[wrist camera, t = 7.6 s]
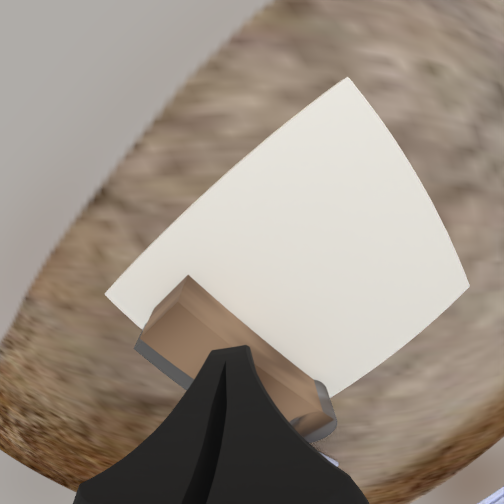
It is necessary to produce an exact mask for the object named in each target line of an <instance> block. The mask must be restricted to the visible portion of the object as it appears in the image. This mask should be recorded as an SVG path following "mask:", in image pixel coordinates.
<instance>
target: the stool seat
mask: <svg viewBox="0 0 504 504" xmlns="http://www.w3.org/2000/svg"><path fill="white" fill-rule="evenodd" d="M187 275H189V276H190V277H191V278H193V279H194V280H195V281H196V282H197V283H198V284H199V285H200V286H201V287H203V288H204V289H205V290H206V291H207V292H208V293H209V294H211V295H212V296H213V297H214V298H215V299H216V300H217V301H219V302H220V303H221V304H222V305H223V306H224V307H225V308H227V309H228V310H229V311H230V312H231V313H232V314H234V315H235V316H236V317H237V318H238V319H239V320H241V321H242V322H243V323H244V324H245V325H247V326H248V327H249V328H250V329H251V330H253V331H254V332H255V333H256V334H257V335H259V336H260V337H261V338H262V339H263V340H265V341H266V342H267V343H268V344H269V345H271V346H272V347H273V348H274V349H276V350H277V351H278V352H279V353H281V354H282V355H283V356H284V357H286V358H287V359H288V360H289V361H291V362H292V363H293V364H294V365H296V366H297V367H298V368H299V369H301V370H302V371H303V372H305V373H306V374H307V375H308V376H310V377H311V378H312V379H314V380H318V381H320V382H322V383H323V384H324V385H325V386H326V388H327V391H328V394H329V397H330V398H331V397H332V396H334V395H336V394H337V393H339V392H340V391H342V390H343V389H345V388H346V387H348V386H349V385H351V384H352V383H354V382H355V381H357V380H358V379H360V378H361V377H363V376H364V375H365V374H367V373H368V372H370V371H371V370H372V369H374V368H375V367H377V366H378V365H379V364H381V363H382V362H383V361H385V360H386V359H387V358H389V357H390V356H391V355H393V354H394V353H395V352H396V351H398V350H399V349H400V348H401V347H403V346H404V345H405V344H406V343H408V342H409V341H410V340H411V339H413V338H414V337H415V336H416V335H417V334H419V333H420V332H421V331H422V330H423V329H424V328H426V327H427V326H428V325H429V324H430V323H431V322H433V321H434V320H435V319H436V318H437V317H438V316H439V315H440V314H441V313H443V312H444V311H445V310H446V309H447V308H448V307H449V306H450V305H451V304H452V303H453V302H454V301H455V300H456V299H457V298H458V297H459V296H460V295H461V294H462V293H463V292H465V291H466V290H467V288H468V287H469V283H468V280H467V278H466V275H465V273H464V270H463V268H462V265H461V263H460V260H459V258H458V256H457V253H456V251H455V249H454V246H453V244H452V242H451V240H450V238H449V235H448V233H447V231H446V229H445V227H444V225H443V223H442V221H441V219H440V217H439V215H438V213H437V211H436V209H435V207H434V205H433V203H432V201H431V199H430V198H429V196H428V194H427V192H426V190H425V188H424V187H423V185H422V183H421V181H420V180H419V178H418V176H417V174H416V173H415V171H414V169H413V168H412V166H411V164H410V163H409V161H408V160H407V158H406V156H405V155H404V153H403V152H402V150H401V148H400V147H399V145H398V144H397V142H396V141H395V139H394V138H393V136H392V135H391V133H390V132H389V130H388V129H387V128H386V126H385V125H384V123H383V122H382V120H381V119H380V118H379V116H378V115H377V113H376V112H375V111H374V109H373V108H372V107H371V105H370V104H369V103H368V101H367V100H366V99H365V97H364V96H363V95H362V94H361V92H360V91H359V90H358V89H357V87H356V86H355V85H354V84H353V82H352V81H351V80H350V79H349V78H348V77H347V78H345V79H343V80H342V81H340V82H339V83H337V84H336V85H334V86H333V87H332V88H330V89H329V90H327V91H326V92H325V93H323V94H322V95H321V96H320V97H318V98H317V99H316V100H314V101H313V102H312V103H310V104H309V105H308V106H306V107H305V108H304V109H303V110H301V111H300V112H299V113H298V114H296V115H295V116H294V117H292V118H291V119H290V120H289V121H287V122H286V123H285V124H284V125H282V126H281V127H280V128H279V129H278V130H276V131H275V132H274V133H273V134H271V135H270V136H269V137H268V138H267V139H265V140H264V141H263V142H262V143H261V144H259V145H258V146H257V147H256V148H255V149H254V150H252V151H251V152H250V153H249V154H248V155H247V156H245V157H244V158H243V159H242V160H241V161H240V162H238V163H237V164H236V165H235V166H234V167H233V168H232V169H230V170H229V171H228V172H227V173H226V174H225V175H224V176H223V177H221V178H220V179H219V180H218V181H217V182H216V183H215V184H214V185H213V186H211V187H210V188H209V189H208V190H207V191H206V192H205V193H204V194H203V195H202V196H201V197H199V198H198V199H197V200H196V201H195V202H194V203H193V204H192V205H191V206H190V207H189V208H188V209H187V210H186V211H185V212H183V213H182V214H181V215H180V216H179V217H178V218H177V219H176V220H175V221H174V222H173V223H172V224H171V225H170V226H169V227H168V228H167V229H166V230H165V231H164V232H163V233H162V234H161V235H160V236H159V237H158V238H157V239H156V240H155V241H154V242H153V243H152V244H151V245H150V246H149V247H148V248H147V249H146V250H145V251H144V252H143V253H142V254H141V255H140V256H139V257H138V258H137V259H136V260H135V261H134V262H133V263H132V264H131V265H130V266H129V267H128V268H127V269H126V270H125V272H124V273H123V274H122V275H121V276H120V277H119V278H118V279H117V280H116V281H115V282H114V284H113V285H112V286H111V287H110V288H109V289H108V291H107V292H106V293H105V295H106V296H107V297H108V298H109V299H110V300H111V301H112V302H113V303H114V304H115V305H116V306H117V307H118V308H119V309H120V310H121V311H122V312H123V313H124V314H125V315H127V316H128V317H129V318H130V319H131V320H132V321H133V322H134V323H135V324H136V325H137V326H139V327H140V328H141V329H142V332H143V330H144V328H145V326H146V324H147V322H148V320H149V318H150V316H151V314H152V312H153V310H154V308H155V307H156V306H157V305H158V304H159V303H160V302H161V301H162V300H163V299H164V298H165V297H166V296H167V295H168V294H169V293H170V292H171V291H172V290H173V289H174V288H175V287H176V286H177V285H178V284H179V283H180V282H181V281H182V280H183V279H184V278H185V277H186V276H187ZM142 332H141V334H142ZM141 334H140V336H141ZM140 336H139V338H138V340H137V343H136V345H135V347H134V349H135V350H136V351H137V352H138V353H140V354H141V355H142V356H143V357H144V358H146V359H147V360H148V361H149V362H150V363H152V364H153V365H154V366H155V367H157V368H158V369H159V370H160V371H162V372H163V373H164V374H166V375H167V376H168V377H169V378H171V379H172V380H173V381H175V382H176V383H177V384H179V385H180V386H181V387H183V388H184V389H186V390H188V388H189V387H190V385H191V384H192V382H193V381H194V379H193V378H191V377H190V376H189V375H187V374H186V373H184V372H183V371H182V370H180V369H179V368H177V367H176V366H175V365H173V364H172V363H171V362H169V361H168V360H167V359H165V358H164V357H163V356H161V355H160V354H159V353H158V352H156V351H155V350H154V349H152V348H151V347H150V346H149V345H147V344H146V343H145V342H144V341H142V340H141V339H140Z"/></svg>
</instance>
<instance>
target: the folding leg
mask: <svg viewBox="0 0 504 504" xmlns="http://www.w3.org/2000/svg"><path fill="white" fill-rule="evenodd" d="M140 339H141V340H142V341H144V342H145V343H146V344H147V345H149V346H150V347H151V348H152V349H154V350H155V351H156V352H158V353H159V354H160V355H161V356H163V357H164V358H165V359H167V360H168V361H169V362H171V363H172V364H173V365H175V366H176V367H177V368H179V369H180V370H182V371H183V372H184V373H186V374H187V375H189V376H190V377H191V378H193V379H195V377H196V376H197V374H198V372H199V371H200V369H201V367H202V366H203V364H204V362H205V360H206V358H207V357H208V355H209V353H210V352H211V351H212V350H217V349H223V348H230V347H236V346H242V345H247V346H249V347H250V349H251V353H252V357H253V360H254V364H255V368H256V372H257V374H258V376H259V378H260V380H261V382H262V384H263V386H264V388H265V389H266V391H267V393H268V394H269V396H270V397H271V399H272V400H273V402H274V403H275V405H276V406H277V408H278V409H279V410H280V412H281V413H282V414H283V416H284V417H285V418H286V419H287V420H288V422H289V423H290V424H291V425H292V426H293V427H294V429H295V430H296V431H297V432H298V433H299V434H300V435H301V436H302V437H303V438H304V439H305V440H306V441H307V442H308V443H311V442H315V441H318V440H321V439H323V438H325V437H327V436H328V435H330V434H331V433H332V432H333V431H334V430H335V428H336V426H337V419H336V416H335V413H334V410H333V406H332V403H331V400H330V397H329V394H328V391H327V388H326V386H325V385H324V384H323V383H322V382H320V381H318V380H314V379H312V378H311V377H310V376H308V375H307V374H306V373H305V372H303V371H302V370H301V369H299V368H298V367H297V366H296V365H294V364H293V363H292V362H291V361H289V360H288V359H287V358H286V357H284V356H283V355H282V354H281V353H279V352H278V351H277V350H276V349H274V348H273V347H272V346H271V345H269V344H268V343H267V342H266V341H265V340H263V339H262V338H261V337H260V336H259V335H257V334H256V333H255V332H254V331H253V330H251V329H250V328H249V327H248V326H247V325H245V324H244V323H243V322H242V321H241V320H239V319H238V318H237V317H236V316H235V315H234V314H232V313H231V312H230V311H229V310H228V309H227V308H225V307H224V306H223V305H222V304H221V303H220V302H219V301H217V300H216V299H215V298H214V297H213V296H212V295H211V294H209V293H208V292H207V291H206V290H205V289H204V288H203V287H201V286H200V285H199V284H198V283H197V282H196V281H195V280H194V279H193V278H191V277H190V276H189V275H187V276H186V277H185V278H184V279H183V280H182V281H181V282H180V283H179V284H178V285H177V286H176V287H175V288H174V289H173V290H172V291H171V292H170V293H169V294H168V295H167V296H166V297H165V298H164V299H163V300H162V301H161V302H160V303H159V304H158V305H157V306H156V307H155V308H154V310H153V312H152V314H151V316H150V318H149V320H148V322H147V324H146V326H145V328H144V330H143V332H142V334H141V336H140Z"/></svg>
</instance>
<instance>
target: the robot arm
mask: <svg viewBox="0 0 504 504" xmlns="http://www.w3.org/2000/svg"><path fill="white" fill-rule="evenodd" d="M338 465H339V464H338V462H337V461H335V460H333V459H331V458H329V457H328V456H326V455H324V454H322V453H320V452H318V451H317V450H316V449H315V448H313V447H312V446H311V445H310V444H309V443H308V442H307V441H306V440H305V439H304V438H303V437H302V436H301V435H300V434H299V433H298V432H297V431H296V430H295V429H294V427H293V426H292V425H291V424H290V423H289V422H288V420H287V419H286V418H285V417H284V416H283V414H282V413H281V412H280V410H279V409H278V408H277V406H276V405H275V403H274V402H273V400H272V399H271V397H270V396H269V394H268V393H267V391H266V389H265V388H264V386H263V384H262V382H261V380H260V378H259V376H258V374H257V372H256V368H255V364H254V360H253V357H252V353H251V349H250V347H249V346H247V345H242V346H236V347H230V348H223V349H217V350H212V351H211V352H210V353H209V355H208V357H207V358H206V360H205V362H204V364H203V366H202V367H201V369H200V371H199V372H198V374H197V376H196V377H195V379H194V381H193V382H192V384H191V385H190V387H189V388H188V390H187V391H186V393H185V394H184V396H183V397H182V398H181V400H180V401H179V403H178V404H177V405H176V407H175V408H174V409H173V411H172V412H171V413H170V414H169V416H168V417H167V418H166V419H165V420H164V421H163V423H162V424H161V425H160V426H159V427H158V428H157V429H156V430H155V431H154V432H153V433H152V434H151V435H150V436H149V437H148V438H147V439H146V440H145V441H143V442H142V443H141V444H140V445H139V446H138V447H137V448H136V449H134V450H133V451H132V452H131V453H129V454H128V455H127V456H126V457H124V458H123V459H122V460H120V461H119V462H117V463H116V464H114V465H113V466H111V467H110V468H108V469H107V470H105V471H103V472H102V473H100V474H98V475H96V476H94V477H93V478H91V479H89V480H87V481H85V482H83V483H81V484H80V485H79V488H78V490H77V493H76V496H75V500H74V502H73V504H369V502H368V500H367V499H366V497H365V496H364V494H363V493H362V491H361V490H360V489H359V487H358V486H357V485H356V484H355V482H354V481H353V480H352V479H351V477H350V476H349V475H348V474H347V473H345V472H344V471H342V470H341V469H339V468H338V467H337V466H338ZM477 504H504V486H503V487H502V488H500V489H499V490H497V491H496V492H494V493H493V494H491V495H490V496H488V497H487V498H485V499H484V500H482V501H481V502H479V503H477Z"/></svg>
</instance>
